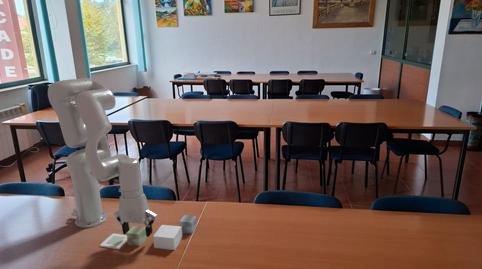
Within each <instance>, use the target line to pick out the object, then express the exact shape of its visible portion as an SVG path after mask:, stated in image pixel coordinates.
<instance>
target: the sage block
mask: <svg viewBox="0 0 482 269" xmlns="http://www.w3.org/2000/svg"><path fill="white" fill-rule="evenodd" d="M145 228H146V226H138V225H133V226H132V227H131V228H129V231H128V232H127V233H126V235H127V245H130V246H138V247H141V246H142V244H143V243H144V242H145V241H146V240H147V239H148V237H147V236H146V230H145Z"/></svg>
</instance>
